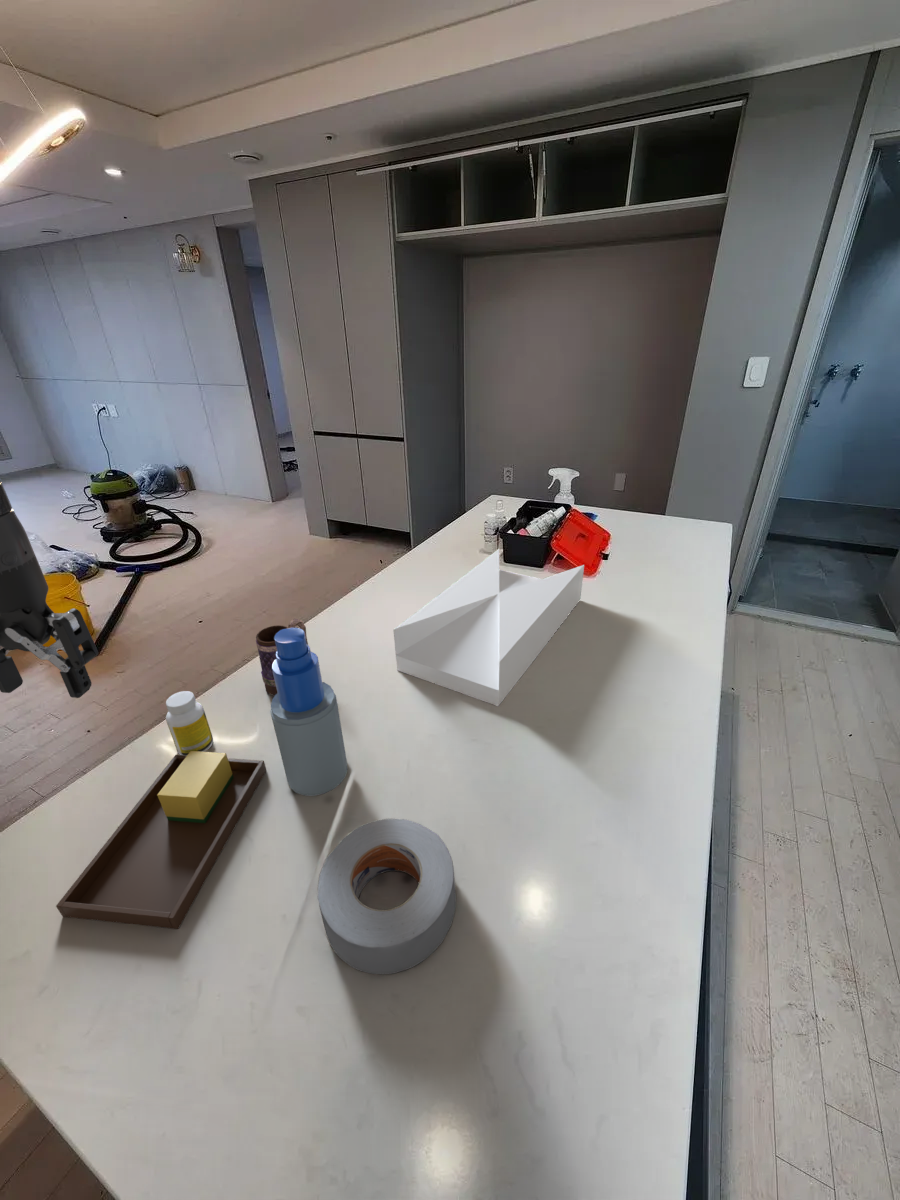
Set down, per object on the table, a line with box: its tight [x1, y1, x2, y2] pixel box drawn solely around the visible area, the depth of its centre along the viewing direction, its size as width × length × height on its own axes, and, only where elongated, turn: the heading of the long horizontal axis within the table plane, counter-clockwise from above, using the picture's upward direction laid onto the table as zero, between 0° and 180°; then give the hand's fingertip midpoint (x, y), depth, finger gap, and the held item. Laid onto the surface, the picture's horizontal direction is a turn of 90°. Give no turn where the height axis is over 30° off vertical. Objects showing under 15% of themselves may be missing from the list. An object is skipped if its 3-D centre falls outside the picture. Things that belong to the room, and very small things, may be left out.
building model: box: [392, 548, 585, 707], centre depth 109 cm, size 45×22×10 cm, turn 149°
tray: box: [55, 754, 267, 930], centre depth 67 cm, size 14×23×3 cm, turn 174°
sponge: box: [157, 751, 234, 823], centre depth 71 cm, size 6×8×5 cm
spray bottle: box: [270, 627, 349, 797], centre depth 71 cm, size 9×9×25 cm
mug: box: [255, 618, 309, 697], centre depth 95 cm, size 10×7×12 cm
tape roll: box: [317, 817, 457, 975], centre depth 58 cm, size 15×15×5 cm
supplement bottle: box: [165, 690, 214, 756], centre depth 80 cm, size 5×5×10 cm
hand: (47, 691), depth 58 cm, fingers open, 8 cm apart
